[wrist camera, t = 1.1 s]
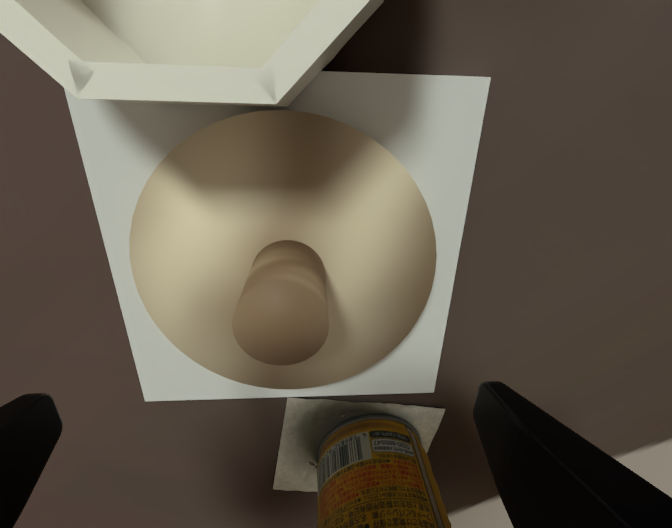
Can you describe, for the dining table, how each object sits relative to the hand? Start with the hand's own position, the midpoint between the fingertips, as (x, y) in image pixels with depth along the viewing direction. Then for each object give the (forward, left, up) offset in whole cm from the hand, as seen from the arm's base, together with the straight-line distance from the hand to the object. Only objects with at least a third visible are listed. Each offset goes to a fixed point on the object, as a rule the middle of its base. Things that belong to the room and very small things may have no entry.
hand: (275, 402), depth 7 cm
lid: (0, 0, -7) cm, 7 cm away
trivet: (0, 0, -8) cm, 8 cm away
